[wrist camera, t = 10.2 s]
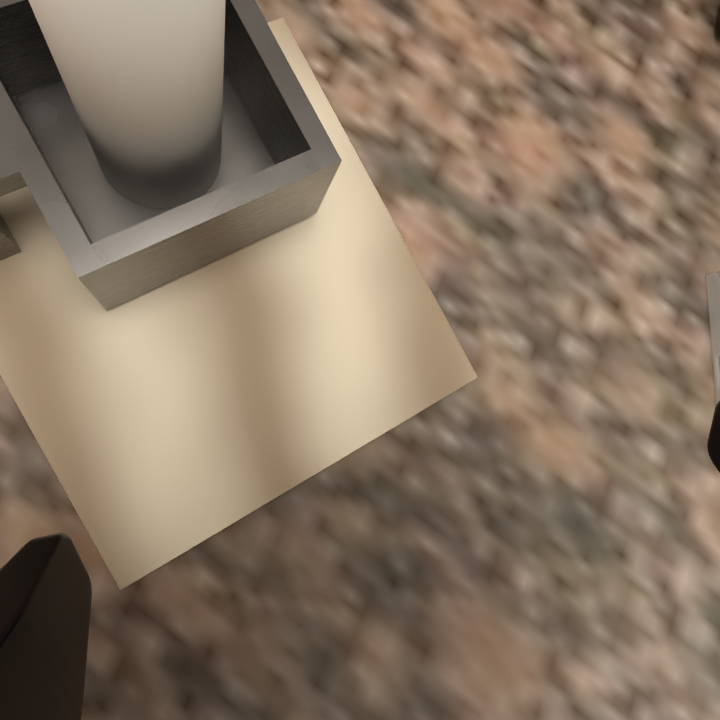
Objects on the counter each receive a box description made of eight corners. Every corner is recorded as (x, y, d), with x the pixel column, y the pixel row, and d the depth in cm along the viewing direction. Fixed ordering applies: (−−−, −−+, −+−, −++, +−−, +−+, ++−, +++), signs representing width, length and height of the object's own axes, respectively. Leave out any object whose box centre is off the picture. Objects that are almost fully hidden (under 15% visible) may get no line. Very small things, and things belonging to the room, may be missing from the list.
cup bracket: (5, 360, 17) (-105, 323, 11) (-118, 139, 17) (-296, -19, 11) (314, 216, 20) (360, 123, 14) (210, 24, 20) (210, -153, 14)
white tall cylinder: (166, 233, 18) (59, -213, 6) (69, 150, 18) (-282, -530, 5) (245, 152, 19) (308, -393, 6) (154, 71, 19) (31, -676, 6)
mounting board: (125, 580, 19) (120, 590, 17) (-98, 179, 18) (-118, 162, 17) (463, 380, 22) (477, 377, 21) (279, 39, 22) (282, 17, 21)
